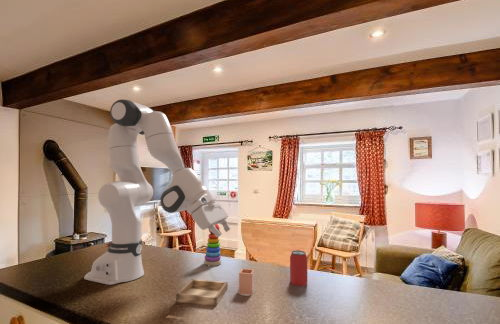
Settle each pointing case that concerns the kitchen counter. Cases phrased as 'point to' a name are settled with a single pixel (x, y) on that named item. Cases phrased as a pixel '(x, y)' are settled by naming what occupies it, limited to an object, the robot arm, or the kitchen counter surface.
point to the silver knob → (248, 294)
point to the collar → (246, 281)
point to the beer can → (298, 268)
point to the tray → (202, 292)
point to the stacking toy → (213, 250)
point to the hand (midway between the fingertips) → (224, 233)
